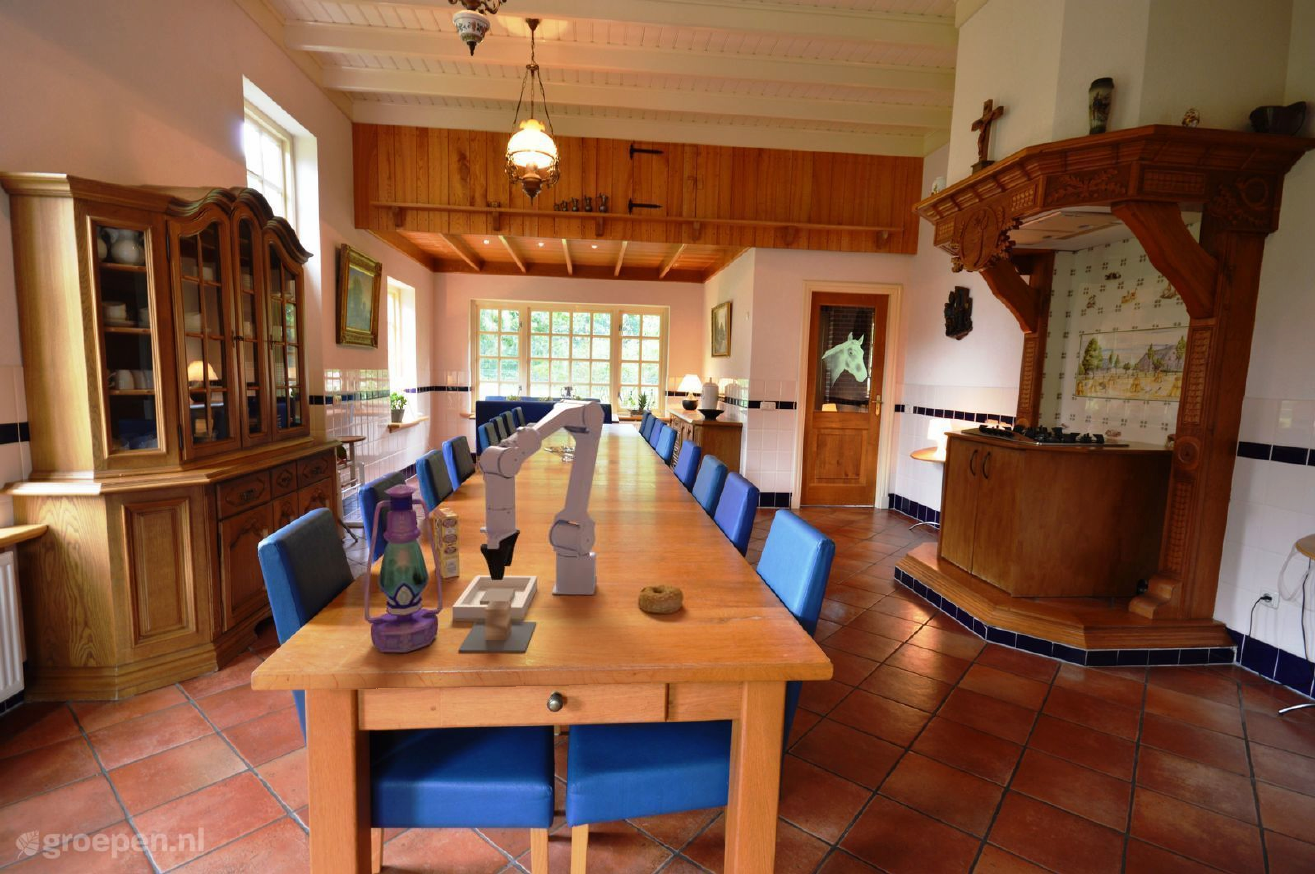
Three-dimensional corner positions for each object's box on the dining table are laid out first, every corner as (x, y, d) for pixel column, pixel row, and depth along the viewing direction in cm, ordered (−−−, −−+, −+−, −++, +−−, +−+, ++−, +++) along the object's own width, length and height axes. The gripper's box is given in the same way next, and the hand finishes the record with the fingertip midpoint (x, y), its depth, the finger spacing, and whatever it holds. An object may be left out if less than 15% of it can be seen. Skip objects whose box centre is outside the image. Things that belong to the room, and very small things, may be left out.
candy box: (460, 576, 146) (459, 515, 144) (442, 579, 143) (441, 517, 142) (450, 565, 153) (449, 507, 151) (433, 568, 151) (432, 509, 149)
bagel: (675, 594, 138) (676, 574, 137) (688, 615, 127) (689, 593, 126) (633, 598, 135) (633, 577, 135) (642, 619, 125) (643, 597, 124)
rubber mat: (536, 623, 120) (536, 621, 120) (525, 652, 109) (525, 650, 108) (476, 623, 120) (476, 621, 120) (458, 651, 108) (458, 649, 108)
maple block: (511, 630, 116) (511, 601, 116) (506, 639, 112) (506, 609, 112) (490, 630, 116) (490, 600, 115) (485, 639, 112) (485, 609, 111)
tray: (537, 588, 139) (537, 575, 139) (522, 621, 121) (522, 607, 121) (476, 587, 139) (476, 575, 138) (452, 620, 121) (452, 606, 120)
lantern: (364, 662, 104) (358, 493, 100) (367, 633, 114) (361, 480, 111) (445, 649, 109) (441, 488, 105) (440, 623, 120) (437, 476, 116)
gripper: (488, 497, 125) (489, 560, 127) (470, 516, 111) (471, 585, 113) (522, 498, 126) (523, 560, 127) (508, 516, 111) (509, 586, 113)
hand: (501, 572), depth 120 cm, fingers open, 7 cm apart
